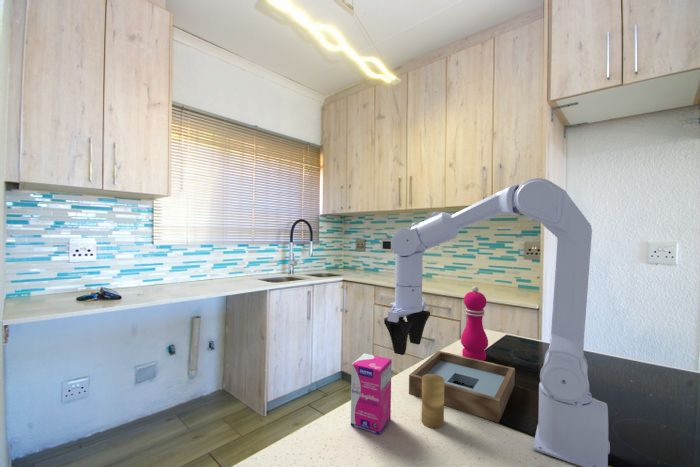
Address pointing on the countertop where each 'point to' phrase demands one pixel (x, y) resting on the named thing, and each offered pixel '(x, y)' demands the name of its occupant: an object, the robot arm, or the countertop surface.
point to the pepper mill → (474, 326)
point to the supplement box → (371, 393)
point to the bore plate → (468, 377)
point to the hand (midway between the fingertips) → (407, 348)
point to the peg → (432, 401)
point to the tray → (463, 397)
